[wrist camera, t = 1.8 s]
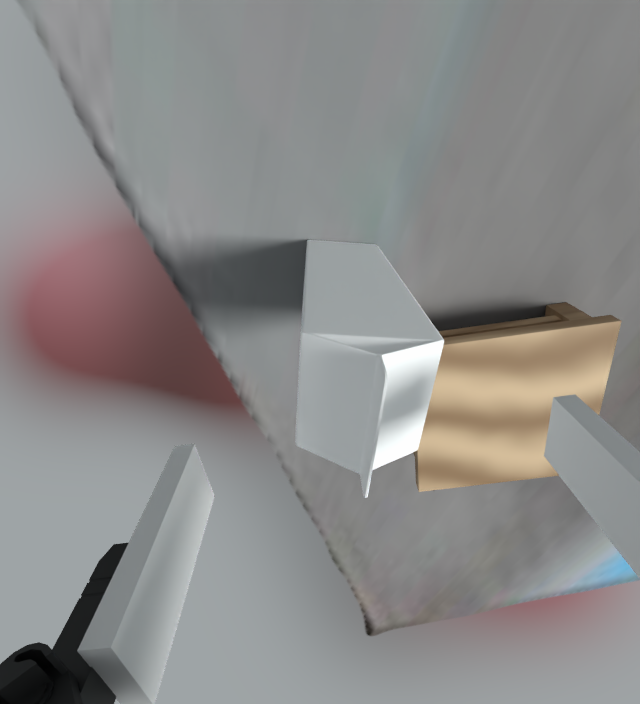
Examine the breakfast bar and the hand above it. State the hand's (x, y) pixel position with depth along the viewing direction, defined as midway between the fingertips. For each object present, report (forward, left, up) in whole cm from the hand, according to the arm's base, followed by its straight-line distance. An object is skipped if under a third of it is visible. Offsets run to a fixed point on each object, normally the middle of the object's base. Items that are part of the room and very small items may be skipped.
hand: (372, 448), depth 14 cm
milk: (0, 0, -22) cm, 22 cm away
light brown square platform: (+13, +13, -22) cm, 28 cm away
